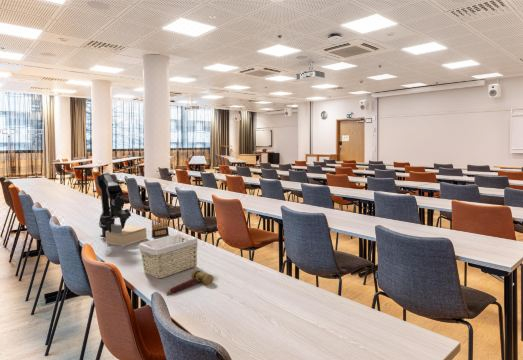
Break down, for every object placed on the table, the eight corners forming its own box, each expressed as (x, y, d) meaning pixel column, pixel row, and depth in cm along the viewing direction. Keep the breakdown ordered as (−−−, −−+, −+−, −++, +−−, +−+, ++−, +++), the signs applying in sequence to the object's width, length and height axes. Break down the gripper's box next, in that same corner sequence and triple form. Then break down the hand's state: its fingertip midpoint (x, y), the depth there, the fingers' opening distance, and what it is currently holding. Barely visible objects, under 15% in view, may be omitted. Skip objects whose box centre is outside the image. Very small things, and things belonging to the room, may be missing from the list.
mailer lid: (105, 232, 232) (104, 224, 231) (128, 226, 248) (128, 218, 247) (123, 235, 224) (122, 226, 224) (146, 228, 240) (145, 220, 239)
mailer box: (106, 242, 233) (105, 233, 232) (129, 235, 248) (128, 226, 248) (123, 245, 225) (123, 236, 224) (146, 238, 240) (146, 229, 240)
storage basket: (157, 281, 168) (155, 249, 167) (139, 272, 179) (137, 242, 178) (200, 266, 186) (199, 237, 184) (181, 260, 197) (179, 232, 195)
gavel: (172, 291, 149) (158, 285, 156) (174, 302, 150) (159, 295, 156) (213, 273, 164) (198, 268, 171) (213, 283, 165) (199, 277, 172)
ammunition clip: (152, 237, 242) (151, 219, 240) (151, 237, 243) (150, 219, 242) (168, 235, 247) (167, 217, 246) (167, 234, 249) (166, 216, 248)
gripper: (110, 209, 216) (112, 235, 218) (136, 203, 232) (137, 228, 234) (98, 207, 221) (100, 233, 223) (123, 202, 237) (125, 226, 239)
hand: (116, 230), depth 230 cm, fingers open, 9 cm apart
